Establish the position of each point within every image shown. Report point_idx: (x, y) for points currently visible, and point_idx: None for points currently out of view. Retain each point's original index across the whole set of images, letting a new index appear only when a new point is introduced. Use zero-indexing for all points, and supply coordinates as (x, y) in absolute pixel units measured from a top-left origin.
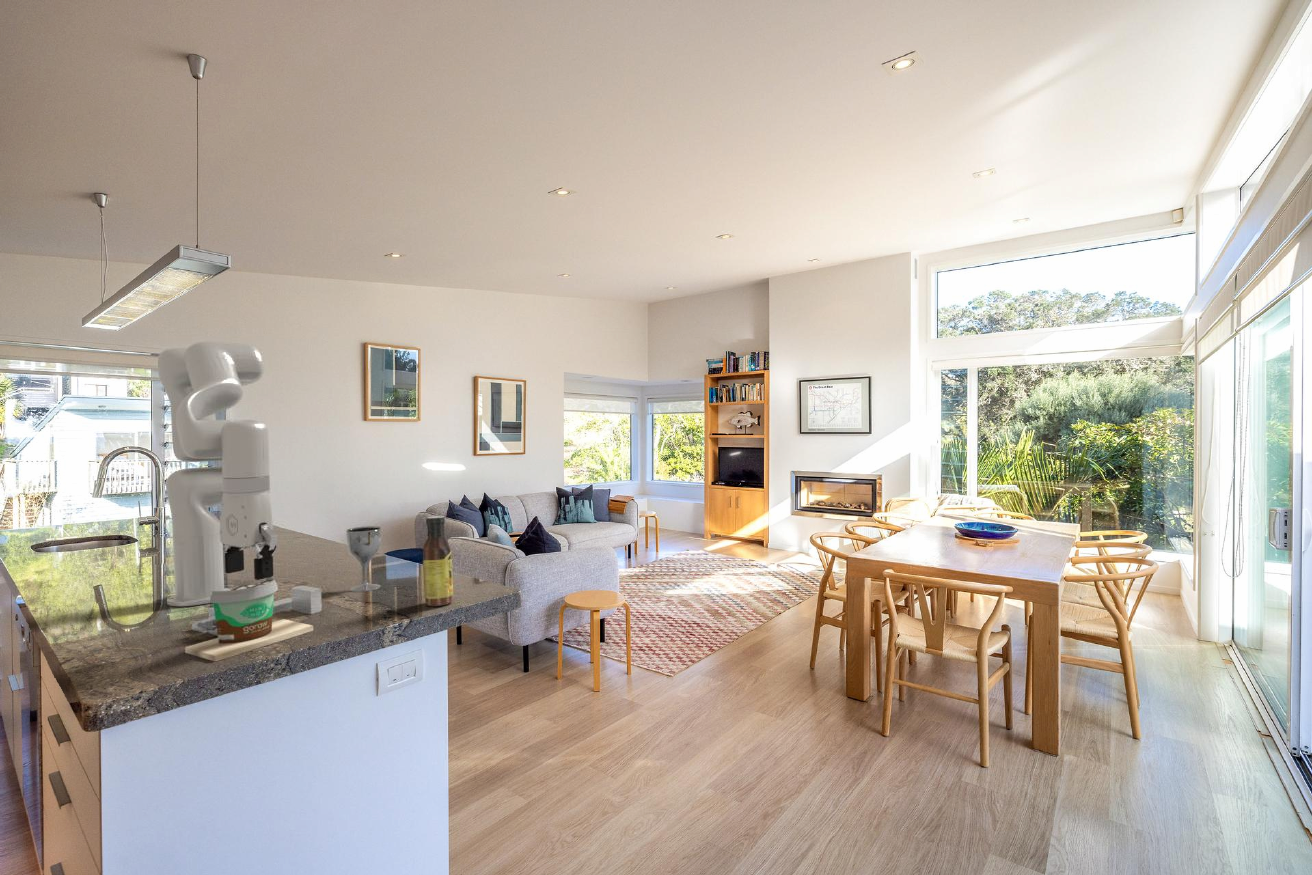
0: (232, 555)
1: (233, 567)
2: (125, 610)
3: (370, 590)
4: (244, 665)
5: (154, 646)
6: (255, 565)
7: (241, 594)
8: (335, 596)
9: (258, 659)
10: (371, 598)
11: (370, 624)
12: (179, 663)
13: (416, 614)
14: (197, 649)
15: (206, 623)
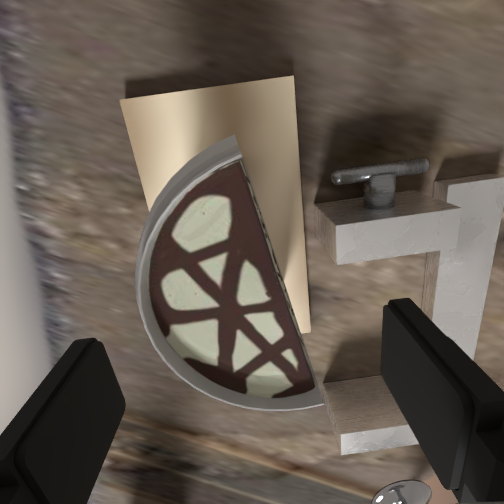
0: (446, 414)
1: (395, 347)
2: None
3: (373, 498)
4: (25, 139)
5: (445, 40)
6: (24, 409)
7: (138, 248)
8: (405, 452)
9: (52, 181)
10: (316, 480)
11: (127, 418)
12: (197, 25)
13: (120, 482)
14: (234, 90)
15: (387, 173)
